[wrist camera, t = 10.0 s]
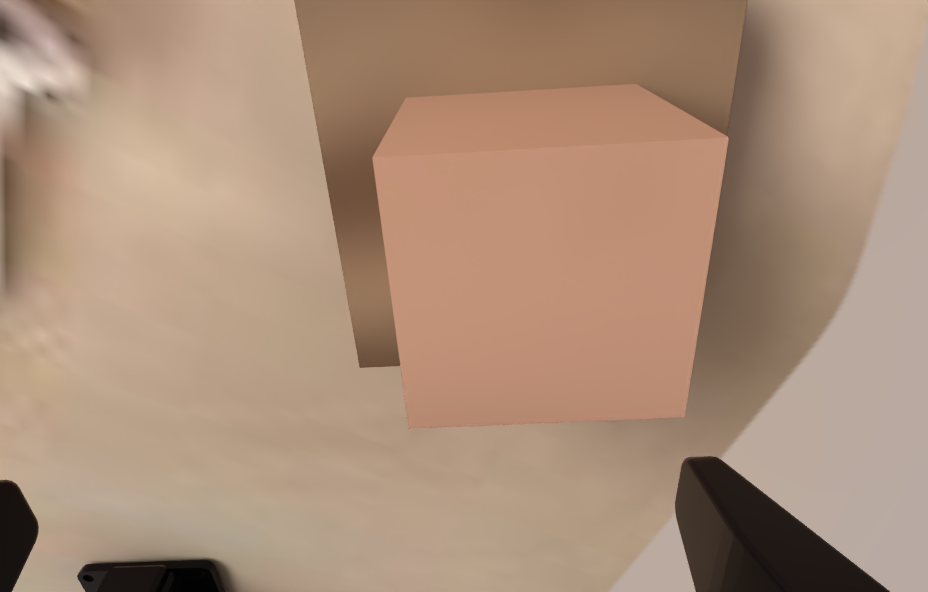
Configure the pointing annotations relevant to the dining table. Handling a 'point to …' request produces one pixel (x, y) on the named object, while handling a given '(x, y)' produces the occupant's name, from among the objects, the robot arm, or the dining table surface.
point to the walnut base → (484, 89)
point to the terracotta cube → (547, 253)
